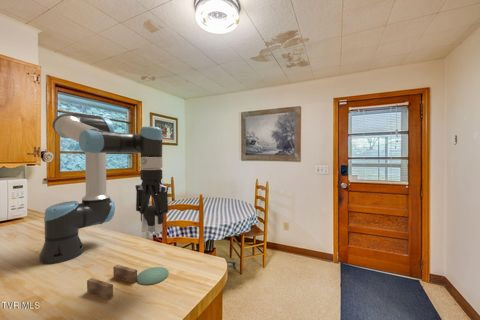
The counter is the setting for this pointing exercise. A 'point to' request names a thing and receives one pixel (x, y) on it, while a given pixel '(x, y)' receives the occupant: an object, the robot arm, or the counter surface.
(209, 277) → the counter surface
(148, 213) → the light bulb
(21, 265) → the counter surface
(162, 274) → the pad
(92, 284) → the pair of wooden planks
